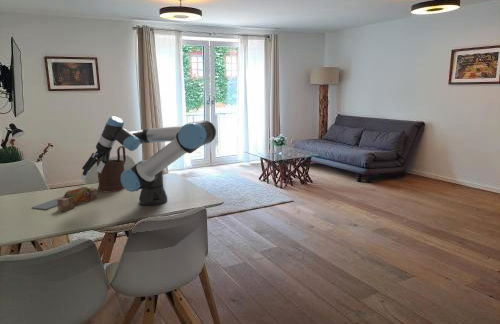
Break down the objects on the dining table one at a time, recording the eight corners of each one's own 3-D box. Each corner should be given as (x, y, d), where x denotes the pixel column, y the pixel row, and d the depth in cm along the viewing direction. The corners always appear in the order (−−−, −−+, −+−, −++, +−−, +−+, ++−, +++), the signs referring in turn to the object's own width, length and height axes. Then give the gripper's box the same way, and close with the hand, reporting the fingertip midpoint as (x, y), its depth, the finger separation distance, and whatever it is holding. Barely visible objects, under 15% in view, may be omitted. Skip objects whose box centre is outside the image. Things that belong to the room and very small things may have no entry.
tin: (67, 207, 193) (65, 192, 191) (63, 206, 194) (61, 191, 193) (92, 200, 205) (90, 185, 204) (88, 199, 207) (86, 185, 205)
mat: (80, 197, 212) (80, 196, 212) (46, 210, 189) (46, 208, 189) (67, 195, 215) (67, 194, 215) (31, 208, 193) (31, 207, 192)
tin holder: (97, 198, 208) (96, 188, 207) (66, 211, 187) (64, 200, 186) (90, 197, 210) (88, 187, 209) (57, 210, 189) (56, 199, 188)
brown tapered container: (90, 190, 225) (86, 151, 220) (115, 181, 248) (111, 145, 243) (115, 192, 220) (112, 152, 215) (138, 183, 242) (135, 146, 237)
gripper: (113, 134, 200) (99, 165, 207) (84, 145, 176) (69, 178, 184) (124, 142, 200) (109, 172, 207) (97, 153, 176) (81, 186, 183)
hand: (90, 175), depth 195 cm, fingers open, 13 cm apart
